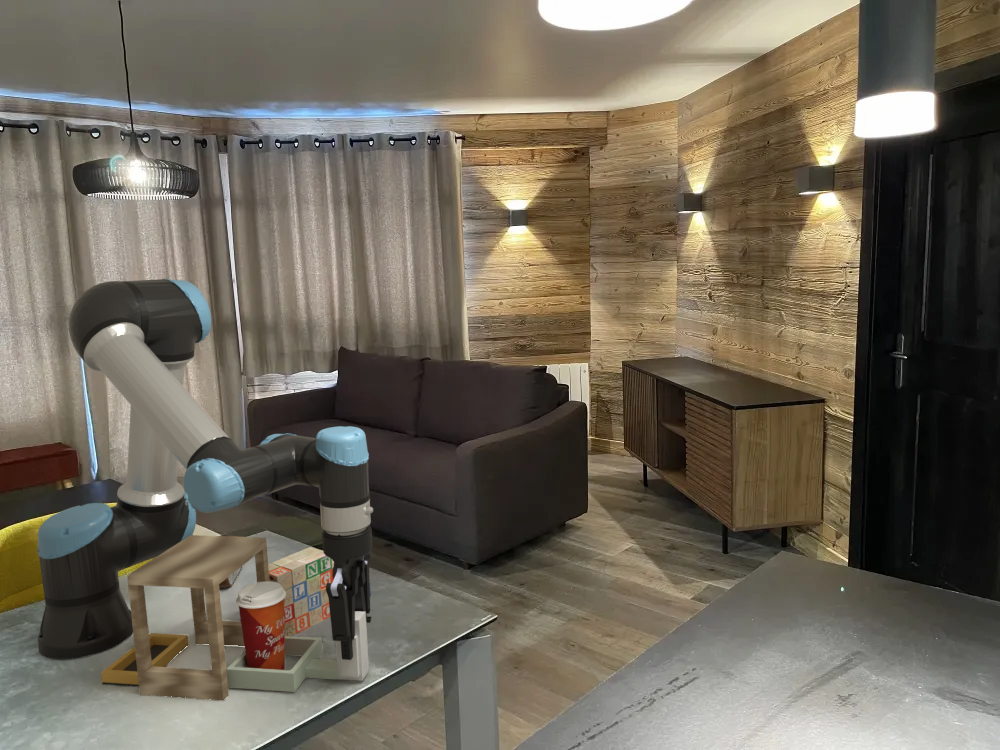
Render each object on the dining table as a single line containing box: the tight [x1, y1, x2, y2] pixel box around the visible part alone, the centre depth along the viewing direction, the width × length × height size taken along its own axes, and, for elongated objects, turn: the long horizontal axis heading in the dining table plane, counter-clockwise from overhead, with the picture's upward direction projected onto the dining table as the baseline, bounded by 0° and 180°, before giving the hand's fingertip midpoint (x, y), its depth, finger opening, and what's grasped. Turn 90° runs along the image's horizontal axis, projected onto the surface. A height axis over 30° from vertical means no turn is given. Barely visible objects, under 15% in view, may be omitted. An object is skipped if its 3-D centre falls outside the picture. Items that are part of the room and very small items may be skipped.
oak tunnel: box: [126, 535, 269, 701], centre depth 121 cm, size 14×17×20 cm
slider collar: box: [226, 611, 370, 693], centre depth 119 cm, size 21×11×10 cm, turn 81°
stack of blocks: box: [268, 546, 372, 636], centre depth 140 cm, size 21×6×12 cm, turn 143°
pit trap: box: [100, 632, 190, 688], centre depth 124 cm, size 7×13×2 cm, turn 171°
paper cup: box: [235, 581, 286, 670], centre depth 120 cm, size 8×8×14 cm
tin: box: [219, 535, 243, 589], centre depth 157 cm, size 15×3×8 cm, turn 6°
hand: (354, 668), depth 118 cm, fingers closed on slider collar, 3 cm apart
